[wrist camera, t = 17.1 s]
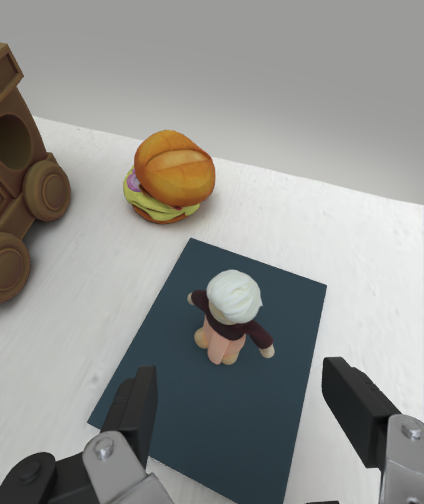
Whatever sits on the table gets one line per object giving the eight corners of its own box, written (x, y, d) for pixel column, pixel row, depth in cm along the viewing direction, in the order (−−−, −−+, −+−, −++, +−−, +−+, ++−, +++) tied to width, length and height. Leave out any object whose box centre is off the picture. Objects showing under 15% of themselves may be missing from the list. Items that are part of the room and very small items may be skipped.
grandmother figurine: (176, 346, 25) (155, 288, 15) (195, 311, 27) (188, 236, 17) (254, 385, 24) (293, 351, 13) (268, 344, 26) (312, 285, 15)
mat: (89, 422, 23) (86, 422, 22) (190, 240, 33) (190, 237, 32) (277, 523, 20) (278, 525, 19) (325, 287, 30) (327, 285, 29)
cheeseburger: (152, 162, 40) (156, 98, 31) (216, 198, 40) (238, 143, 31) (109, 209, 35) (101, 148, 26) (182, 250, 35) (198, 202, 26)
